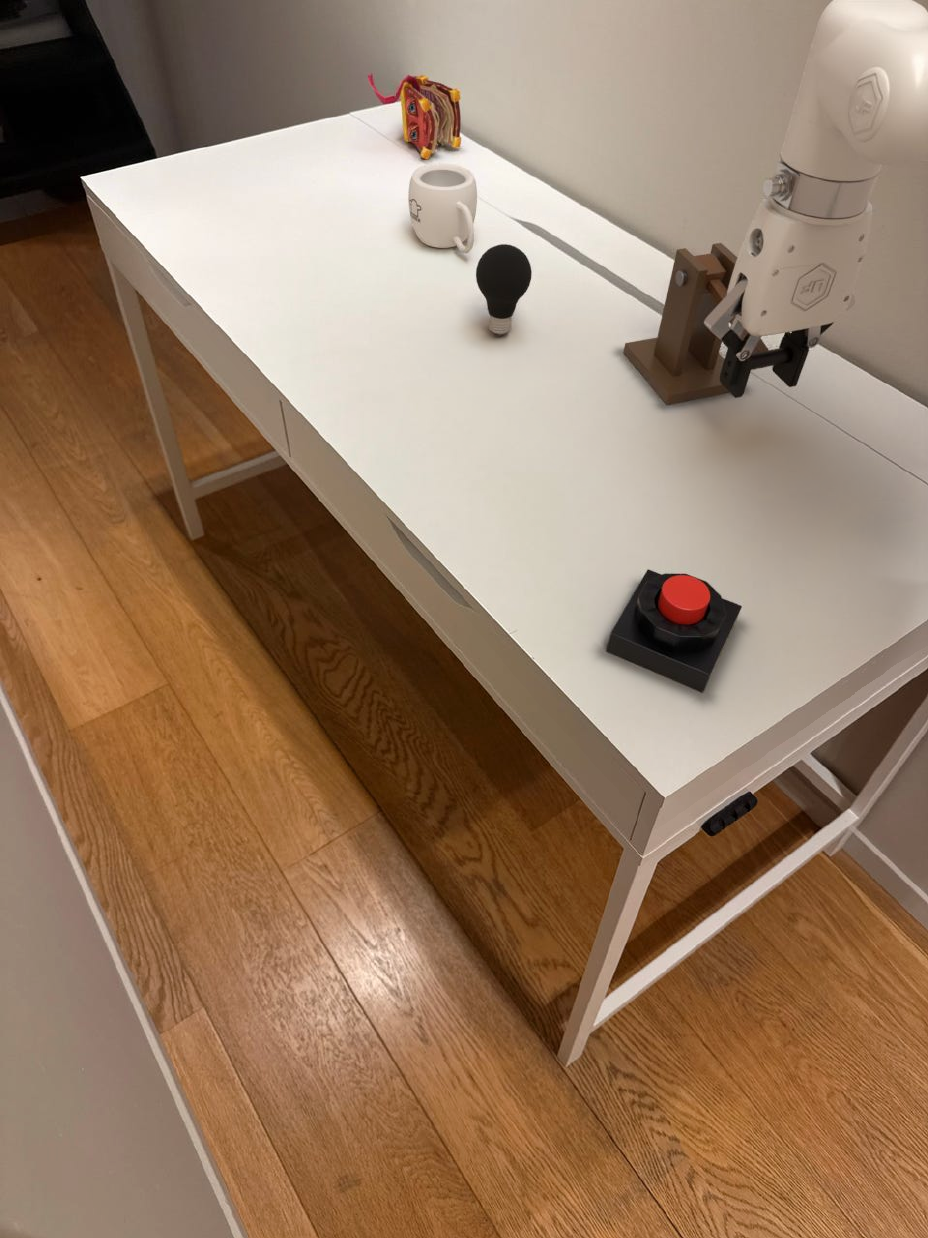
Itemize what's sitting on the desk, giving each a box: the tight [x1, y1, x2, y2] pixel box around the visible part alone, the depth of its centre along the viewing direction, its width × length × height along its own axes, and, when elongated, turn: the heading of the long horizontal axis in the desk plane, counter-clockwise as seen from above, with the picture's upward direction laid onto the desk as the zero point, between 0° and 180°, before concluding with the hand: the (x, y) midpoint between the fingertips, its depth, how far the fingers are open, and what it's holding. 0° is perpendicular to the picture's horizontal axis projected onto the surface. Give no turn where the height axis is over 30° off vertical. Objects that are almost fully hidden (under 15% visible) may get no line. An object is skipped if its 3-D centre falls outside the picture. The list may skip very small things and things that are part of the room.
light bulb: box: [475, 243, 533, 337], centre depth 95 cm, size 6×6×10 cm
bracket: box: [623, 242, 738, 405], centre depth 90 cm, size 10×9×13 cm
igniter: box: [605, 568, 743, 693], centre depth 69 cm, size 8×8×4 cm
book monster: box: [367, 72, 462, 160], centre depth 127 cm, size 11×9×12 cm
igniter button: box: [658, 575, 710, 625], centre depth 67 cm, size 4×4×2 cm
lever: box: [693, 252, 793, 371], centre depth 84 cm, size 14×5×2 cm, turn 20°
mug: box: [407, 162, 478, 254], centre depth 109 cm, size 12×8×8 cm
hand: (757, 382), depth 83 cm, fingers closed on lever, 5 cm apart
